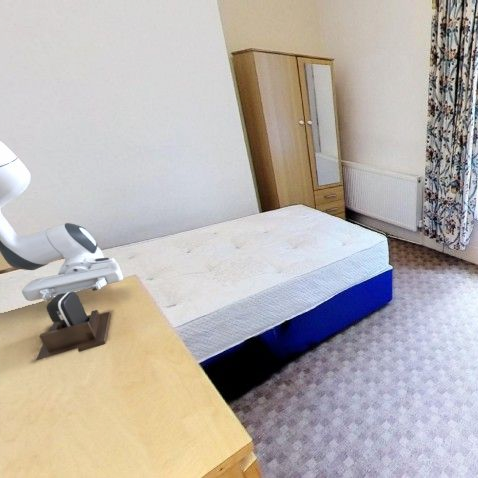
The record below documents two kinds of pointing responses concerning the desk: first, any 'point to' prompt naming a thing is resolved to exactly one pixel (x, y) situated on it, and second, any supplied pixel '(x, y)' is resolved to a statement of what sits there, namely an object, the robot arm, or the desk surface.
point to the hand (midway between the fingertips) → (72, 293)
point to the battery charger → (67, 309)
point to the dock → (75, 335)
